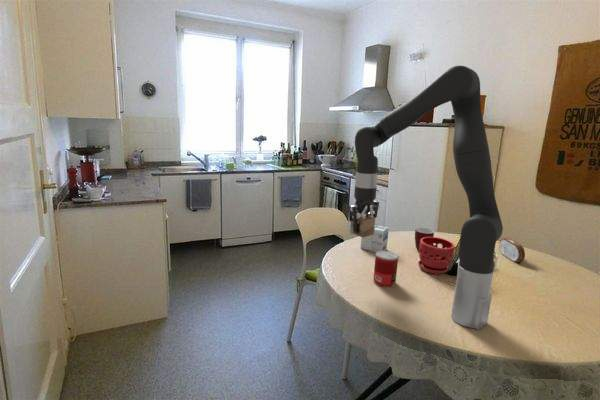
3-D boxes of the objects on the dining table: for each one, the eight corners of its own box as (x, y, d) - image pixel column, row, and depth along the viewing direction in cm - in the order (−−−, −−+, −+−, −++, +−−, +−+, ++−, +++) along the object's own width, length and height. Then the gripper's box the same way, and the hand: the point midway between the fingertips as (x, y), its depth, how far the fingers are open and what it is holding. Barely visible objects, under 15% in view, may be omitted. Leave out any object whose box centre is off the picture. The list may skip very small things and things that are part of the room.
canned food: (395, 288, 127) (399, 259, 125) (373, 285, 129) (375, 257, 126) (394, 279, 134) (397, 251, 132) (373, 276, 136) (375, 249, 133)
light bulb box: (387, 249, 165) (389, 227, 162) (382, 254, 159) (384, 231, 156) (365, 244, 170) (367, 223, 168) (359, 248, 164) (361, 226, 162)
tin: (523, 265, 152) (527, 246, 150) (516, 265, 152) (520, 246, 150) (503, 252, 167) (506, 235, 165) (496, 252, 167) (499, 234, 165)
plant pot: (418, 274, 140) (421, 245, 137) (415, 261, 152) (418, 234, 149) (453, 278, 137) (457, 249, 134) (448, 265, 149) (452, 238, 146)
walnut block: (374, 234, 128) (375, 218, 126) (363, 237, 124) (364, 220, 122) (361, 230, 132) (362, 214, 131) (350, 233, 128) (351, 217, 127)
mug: (407, 246, 170) (410, 226, 167) (423, 246, 171) (426, 226, 168) (417, 254, 159) (420, 233, 157) (434, 254, 160) (437, 233, 158)
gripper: (360, 189, 117) (357, 238, 120) (387, 185, 126) (383, 230, 129) (343, 185, 122) (340, 232, 126) (370, 181, 131) (367, 225, 135)
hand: (362, 231), depth 128 cm, fingers closed on walnut block, 6 cm apart
